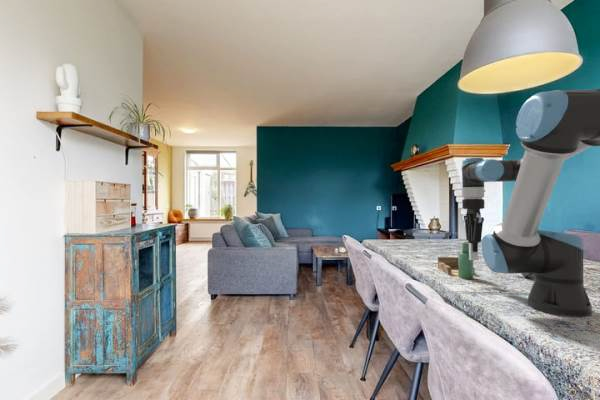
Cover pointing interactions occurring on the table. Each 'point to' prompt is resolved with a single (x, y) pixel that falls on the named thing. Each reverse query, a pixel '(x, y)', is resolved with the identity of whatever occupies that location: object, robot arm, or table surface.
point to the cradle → (451, 267)
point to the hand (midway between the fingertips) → (473, 259)
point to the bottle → (465, 262)
